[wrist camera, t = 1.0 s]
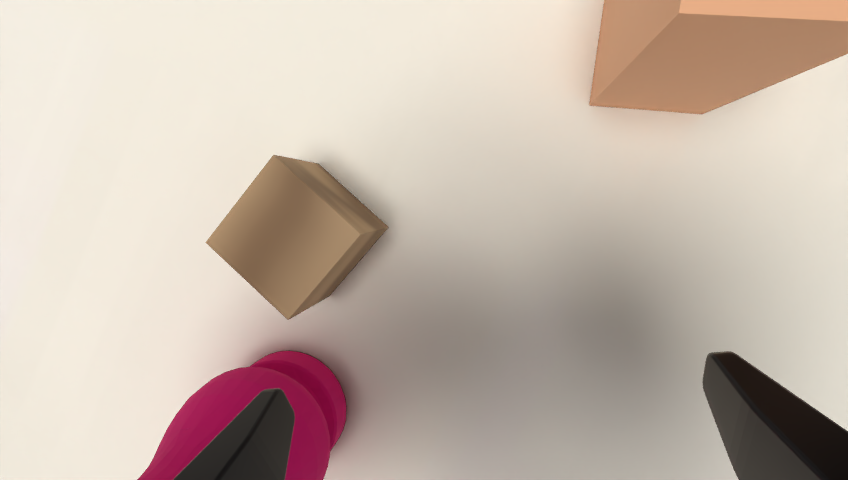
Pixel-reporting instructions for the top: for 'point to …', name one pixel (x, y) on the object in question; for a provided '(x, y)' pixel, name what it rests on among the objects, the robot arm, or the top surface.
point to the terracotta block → (709, 49)
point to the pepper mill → (233, 390)
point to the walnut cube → (295, 234)
